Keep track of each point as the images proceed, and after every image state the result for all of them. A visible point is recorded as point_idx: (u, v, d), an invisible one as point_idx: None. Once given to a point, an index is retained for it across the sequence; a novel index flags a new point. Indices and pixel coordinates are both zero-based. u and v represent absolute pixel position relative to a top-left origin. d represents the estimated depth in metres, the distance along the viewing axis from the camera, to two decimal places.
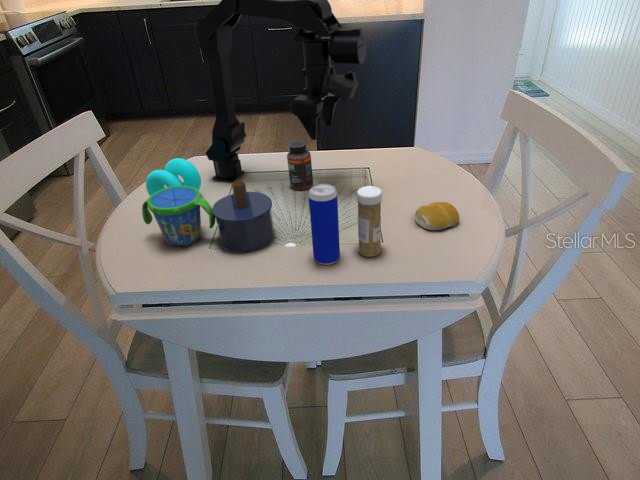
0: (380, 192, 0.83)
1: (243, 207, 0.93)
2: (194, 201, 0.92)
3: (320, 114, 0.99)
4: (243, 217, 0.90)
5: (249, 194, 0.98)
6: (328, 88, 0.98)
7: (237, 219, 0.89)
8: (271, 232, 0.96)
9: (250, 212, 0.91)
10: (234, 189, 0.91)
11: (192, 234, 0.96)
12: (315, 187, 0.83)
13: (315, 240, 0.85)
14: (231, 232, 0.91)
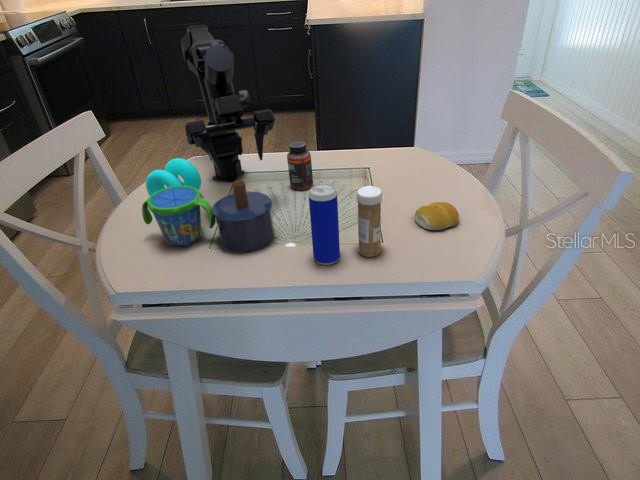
0: (380, 192, 0.83)
1: (243, 207, 0.93)
2: (194, 201, 0.92)
3: (205, 136, 0.94)
4: (243, 217, 0.90)
5: (249, 194, 0.98)
6: (214, 110, 0.95)
7: (237, 219, 0.89)
8: (271, 232, 0.96)
9: (250, 212, 0.91)
10: (234, 189, 0.91)
11: (192, 234, 0.96)
12: (315, 187, 0.83)
13: (315, 240, 0.85)
14: (231, 232, 0.91)
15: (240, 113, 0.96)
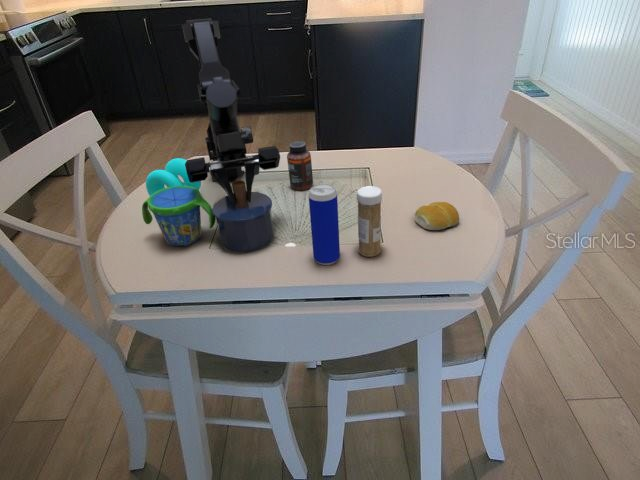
0: (380, 192, 0.83)
1: (243, 207, 0.93)
2: (194, 201, 0.92)
3: (222, 171, 0.90)
4: (243, 217, 0.90)
5: None
6: (216, 147, 0.90)
7: (237, 219, 0.89)
8: (271, 232, 0.96)
9: (250, 212, 0.91)
10: (234, 189, 0.91)
11: (192, 234, 0.96)
12: (315, 187, 0.83)
13: (315, 240, 0.85)
14: (231, 232, 0.91)
15: (243, 150, 0.91)
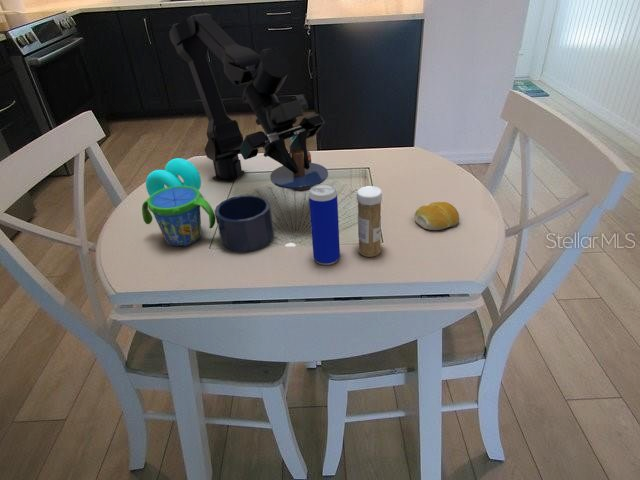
0: (380, 192, 0.83)
1: (303, 175, 0.96)
2: (194, 201, 0.92)
3: (281, 142, 0.92)
4: (312, 181, 0.93)
5: None
6: (271, 119, 0.92)
7: (308, 184, 0.92)
8: (271, 232, 0.96)
9: (314, 177, 0.95)
10: (295, 157, 0.93)
11: (192, 234, 0.96)
12: (315, 187, 0.83)
13: (315, 240, 0.85)
14: (231, 232, 0.91)
15: (294, 120, 0.94)
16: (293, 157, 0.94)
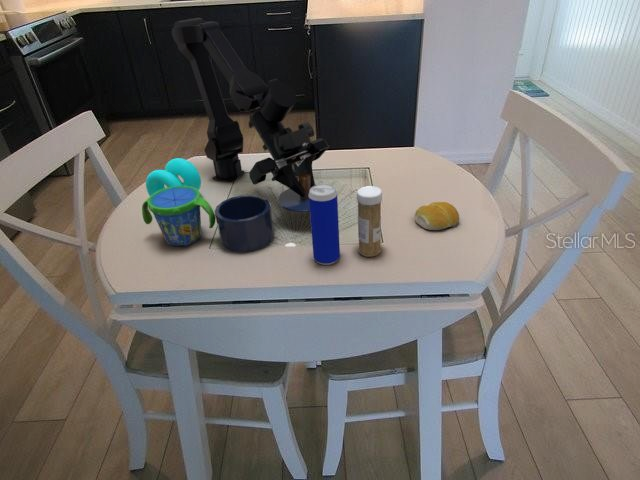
0: (380, 192, 0.83)
1: None
2: (194, 201, 0.92)
3: (289, 167, 0.96)
4: None
5: None
6: (279, 146, 0.95)
7: None
8: (271, 232, 0.96)
9: None
10: (303, 182, 0.97)
11: (192, 234, 0.96)
12: (315, 187, 0.83)
13: (315, 240, 0.85)
14: (231, 232, 0.91)
15: (300, 145, 0.98)
16: (300, 181, 0.97)
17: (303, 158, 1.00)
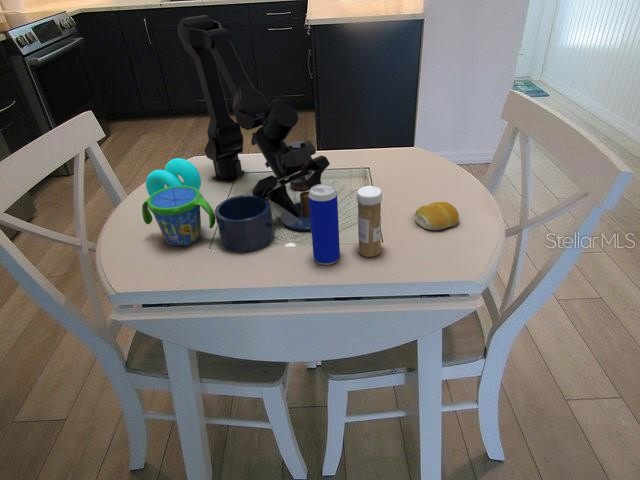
0: (380, 192, 0.83)
1: None
2: (194, 201, 0.92)
3: (283, 188, 0.97)
4: None
5: None
6: (281, 164, 0.98)
7: None
8: (271, 232, 0.96)
9: None
10: (304, 200, 1.00)
11: (192, 234, 0.96)
12: (315, 187, 0.83)
13: (315, 240, 0.85)
14: (231, 232, 0.91)
15: (302, 163, 1.00)
16: (302, 199, 1.00)
17: (312, 172, 1.03)
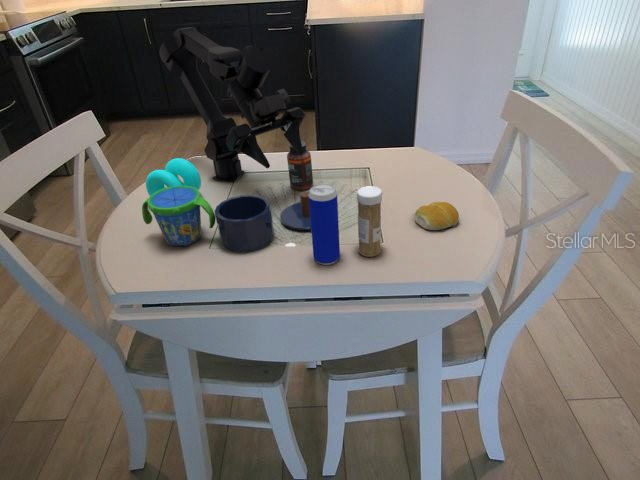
0: (380, 192, 0.83)
1: None
2: (194, 201, 0.92)
3: (253, 138, 0.96)
4: None
5: None
6: (255, 113, 0.97)
7: None
8: (271, 232, 0.96)
9: None
10: (304, 200, 1.00)
11: (192, 234, 0.96)
12: (315, 187, 0.83)
13: (315, 240, 0.85)
14: (231, 232, 0.91)
15: (277, 113, 1.00)
16: (302, 199, 1.00)
17: (291, 122, 1.03)
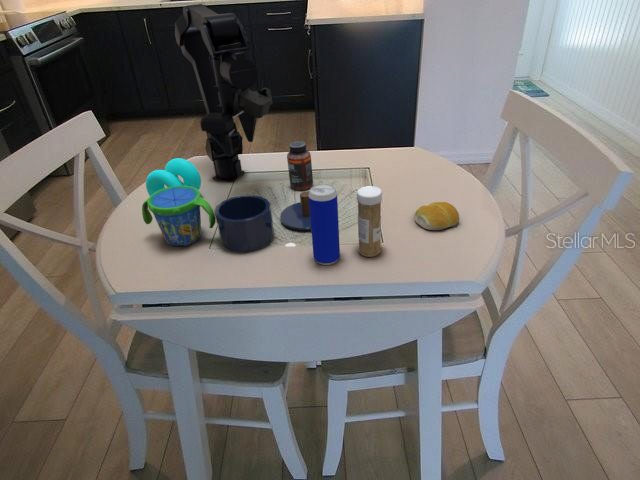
0: (380, 192, 0.83)
1: None
2: (194, 201, 0.92)
3: (232, 131, 0.98)
4: None
5: None
6: (239, 105, 0.97)
7: None
8: (271, 232, 0.96)
9: None
10: (304, 200, 1.00)
11: (192, 234, 0.96)
12: (315, 187, 0.83)
13: (315, 240, 0.85)
14: (231, 232, 0.91)
15: None
16: (302, 199, 1.00)
17: None
